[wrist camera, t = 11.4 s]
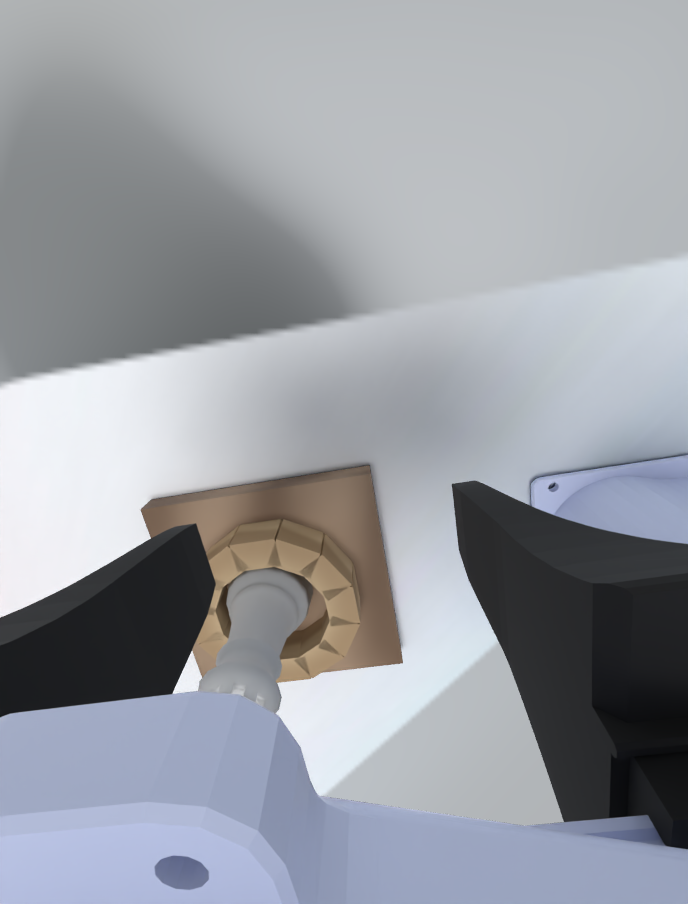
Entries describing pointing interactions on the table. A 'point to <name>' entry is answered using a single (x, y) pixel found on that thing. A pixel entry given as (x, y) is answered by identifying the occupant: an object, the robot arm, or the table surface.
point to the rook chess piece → (258, 634)
